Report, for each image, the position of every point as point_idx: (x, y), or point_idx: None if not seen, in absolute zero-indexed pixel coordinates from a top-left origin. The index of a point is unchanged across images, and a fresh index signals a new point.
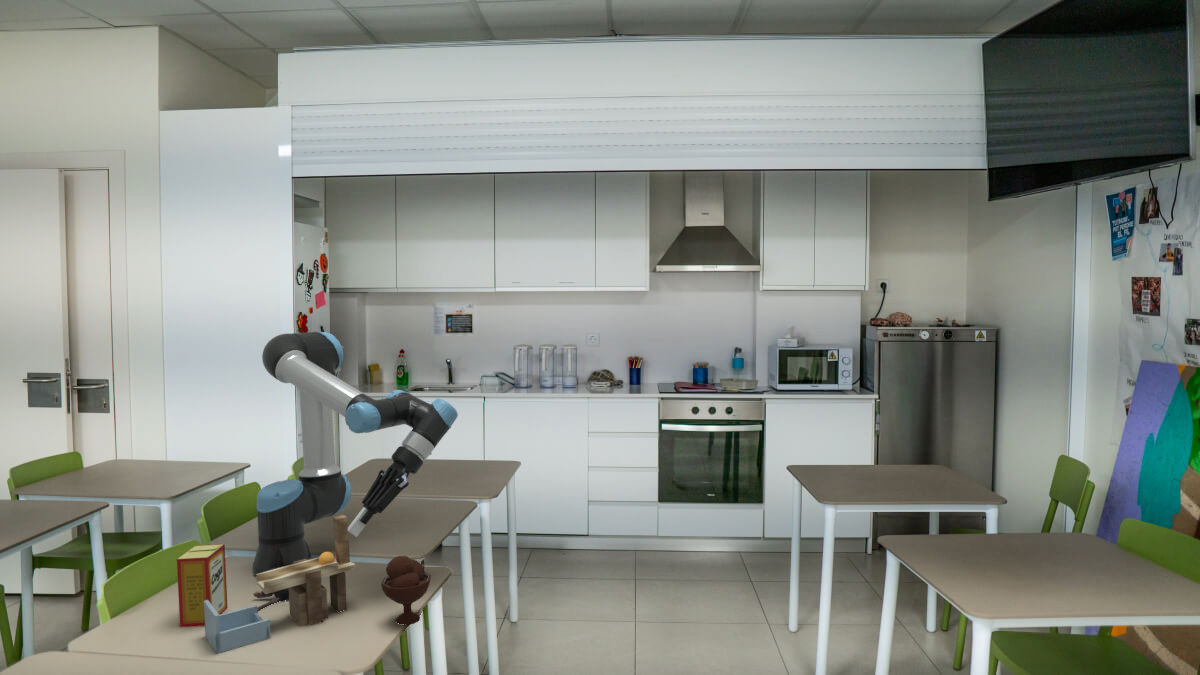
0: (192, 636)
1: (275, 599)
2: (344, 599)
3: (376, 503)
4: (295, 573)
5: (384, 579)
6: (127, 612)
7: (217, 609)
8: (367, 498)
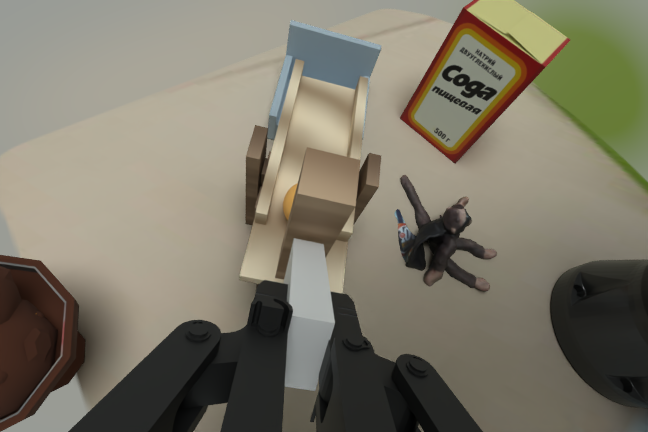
0: (376, 89)
1: (423, 219)
2: None
3: (176, 350)
4: (285, 113)
5: (58, 290)
6: (531, 88)
7: (429, 127)
8: (410, 398)
